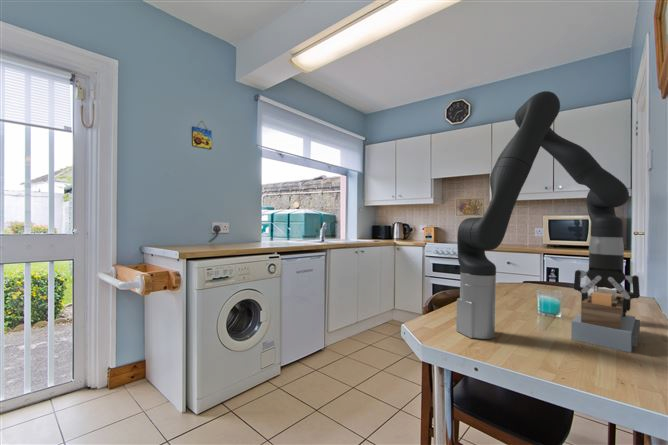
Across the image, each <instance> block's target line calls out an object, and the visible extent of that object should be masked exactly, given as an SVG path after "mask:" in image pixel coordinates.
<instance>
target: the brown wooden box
mask: <svg viewBox="0 0 668 445" xmlns="http://www.w3.org/2000/svg"><path fill="white" fill-rule="evenodd" d="M623 299H624V297H623V296H619V295H617V297H616V299H613V307H612V306H606V305H599V304H593V303H592V293H591V294H590V295H589V299H585V300H583V301H582V302H581V301H580V302H581V304H580V305H581V307H580V308H581V309H580V310H581V311H580V312H581V322H582V323H587V324H592V325H597V326H602V327H607V328H613V329H618V330H621V317H622V316H626V315H627V313H625V312H623Z"/></svg>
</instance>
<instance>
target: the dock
mask: <svg viewBox="0 0 668 445" xmlns="http://www.w3.org/2000/svg"><path fill="white" fill-rule="evenodd" d="M640 330H641V319H638V318H637V319H636V316H634V315H629V314H626V316H622V317H621V330H618V329H613V328H607V327H602V326H597V325H592V324H587V323H582V322H581V311H580V312H579V313H578V314H577V315H576V316H575V317H574V318H573V319H572V320H571V330H570V332H571V334H570V338H571V340H573V341H577V342H582V343H586V344H591V345H595V346H600V347H603V348H609V349H613V350H616V351H622V352H625V353H630V354H631V353H632V350H633V347H634V348H635V347H636V348H637V347H638V342H639V335H640Z"/></svg>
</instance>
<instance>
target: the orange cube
mask: <svg viewBox="0 0 668 445" xmlns="http://www.w3.org/2000/svg"><path fill="white" fill-rule="evenodd" d="M592 303H593V304H599V305H606V306H612V307H613V294H607V293H600V292H593V293H592Z"/></svg>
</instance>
